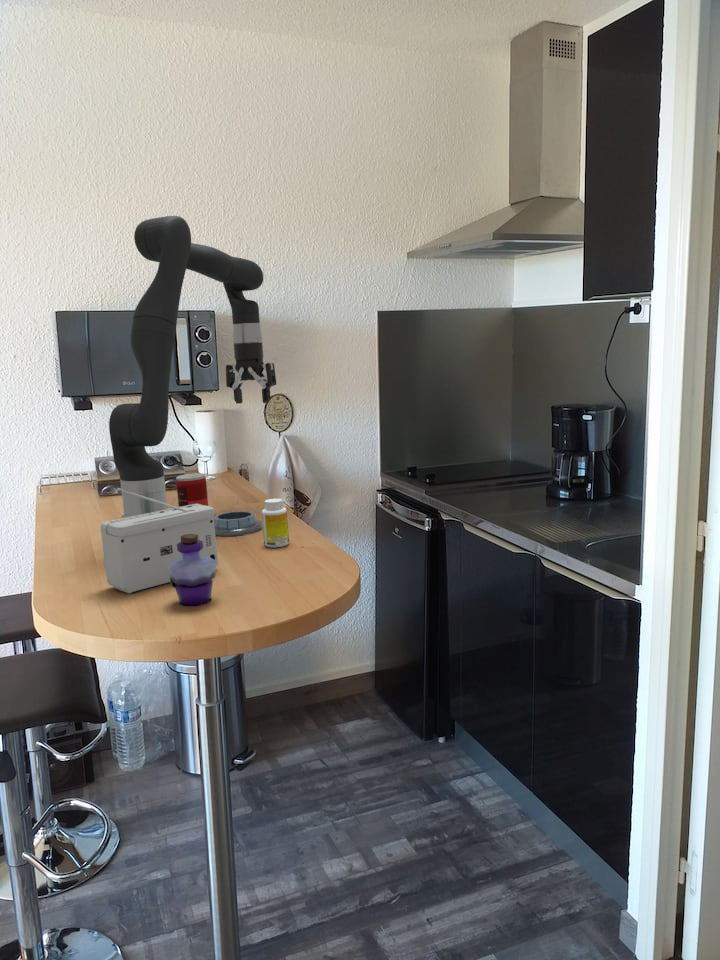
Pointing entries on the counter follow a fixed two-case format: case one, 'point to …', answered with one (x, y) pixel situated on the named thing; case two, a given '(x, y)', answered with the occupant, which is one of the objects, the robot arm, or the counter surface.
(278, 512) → the supplement bottle
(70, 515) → the counter surface
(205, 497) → the canned food
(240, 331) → the robot arm
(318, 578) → the counter surface
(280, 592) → the counter surface
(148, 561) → the stereo radio cassette player
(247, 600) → the counter surface
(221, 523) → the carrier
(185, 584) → the potion bottle
